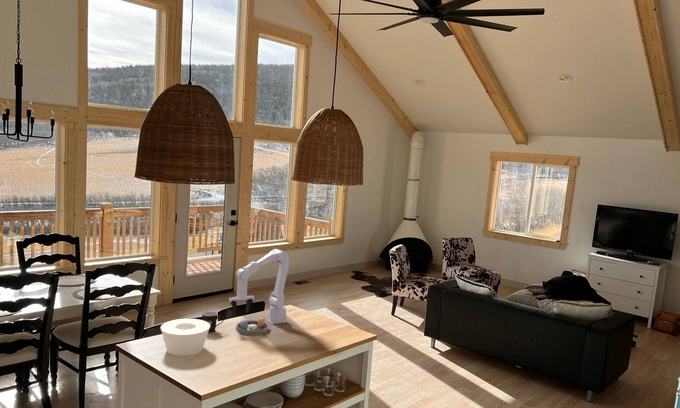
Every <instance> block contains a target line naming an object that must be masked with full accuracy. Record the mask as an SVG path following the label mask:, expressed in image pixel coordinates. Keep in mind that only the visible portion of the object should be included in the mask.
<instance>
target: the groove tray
mask: <svg viewBox="0 0 680 408" xmlns="http://www.w3.org/2000/svg"><path fill="white" fill-rule="evenodd" d="M269 329H270V326H269V324H268V323H267V322H265V327H264V328H258V320H248V325H247V330H244V329H241V328H240V322H238V323H237V324H236V326H235V331H236V332H237V333H238V334H240V335H244V336H251V337H252V336H262V335H265V334H266V333H268V332H269Z"/></svg>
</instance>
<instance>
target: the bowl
mask: <svg viewBox="0 0 680 408" xmlns="http://www.w3.org/2000/svg"><path fill="white" fill-rule="evenodd" d="M209 328H210V324H209V323H208V322H206V321H203V320H202V319H198V318H177V319H172V320H169V321H166V322H164V323H162V324H161V325H160V331H161V334H162V338H163V342H164V345H165V348H166V351H168V352H167V353H168V354H170V355H172V356H178V357H188V356H187V355H189V356H193V355H197V354H199V353H200V352H202V350H203V348H204V345H205V342H206V339H207V337H208V334H209V333H208V331H209Z"/></svg>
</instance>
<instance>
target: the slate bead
mask: <svg viewBox="0 0 680 408" xmlns="http://www.w3.org/2000/svg"><path fill="white" fill-rule="evenodd" d="M248 321H249V320H247V319H241V320H240V322H239V323H240V328H241V329H244V330H247V325H248Z"/></svg>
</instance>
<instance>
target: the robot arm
mask: <svg viewBox="0 0 680 408" xmlns="http://www.w3.org/2000/svg"><path fill="white" fill-rule="evenodd" d="M269 262H277V264H278V265H279V266H278V271H277V276H276V280H275V284H274V290H273V291H272V292H271V293H270V296H269V297H268V304H269V307H270V308H269V309H270V310H269V319H267V320H266V321H267V322H268V323H270V324H271V325H278V324H279V325H280V324H284V323H287V309H286V307H285V303H286V302H285V297H286V296H285V294H284V289H285V286H286V285H285V284H286V281H287V280H286V279H287V275H288V271H289V269H290V261H289V254H288V253H287V252H286V251H283V250H280V249H279V248H274V249H272V250H270V251H269V253H267V254H266V255H264V256H263V257H262V258H260V259H259V260H257V261H251V262H249V264H247V265H246V266H243V268H239V269H238V270H237V271H236V273H235V276H236V279H237V281H236V282H237V284H236V296H233V297H228V302H229V303H230V305H231V307H232V312H233V314H234V315H236V314H237V305H238V303H237V302H242V301H245V303H246V306H245V312H246V313H249V312H250V309H251V306H252V304H253V302H254V300H255V296H254V295H248V280H249V278H250V277H251V275H253V274H254V273H255V274H256V272H257V271H259V270H260V267H262V266H264V265H265V264H267V263H269Z"/></svg>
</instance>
